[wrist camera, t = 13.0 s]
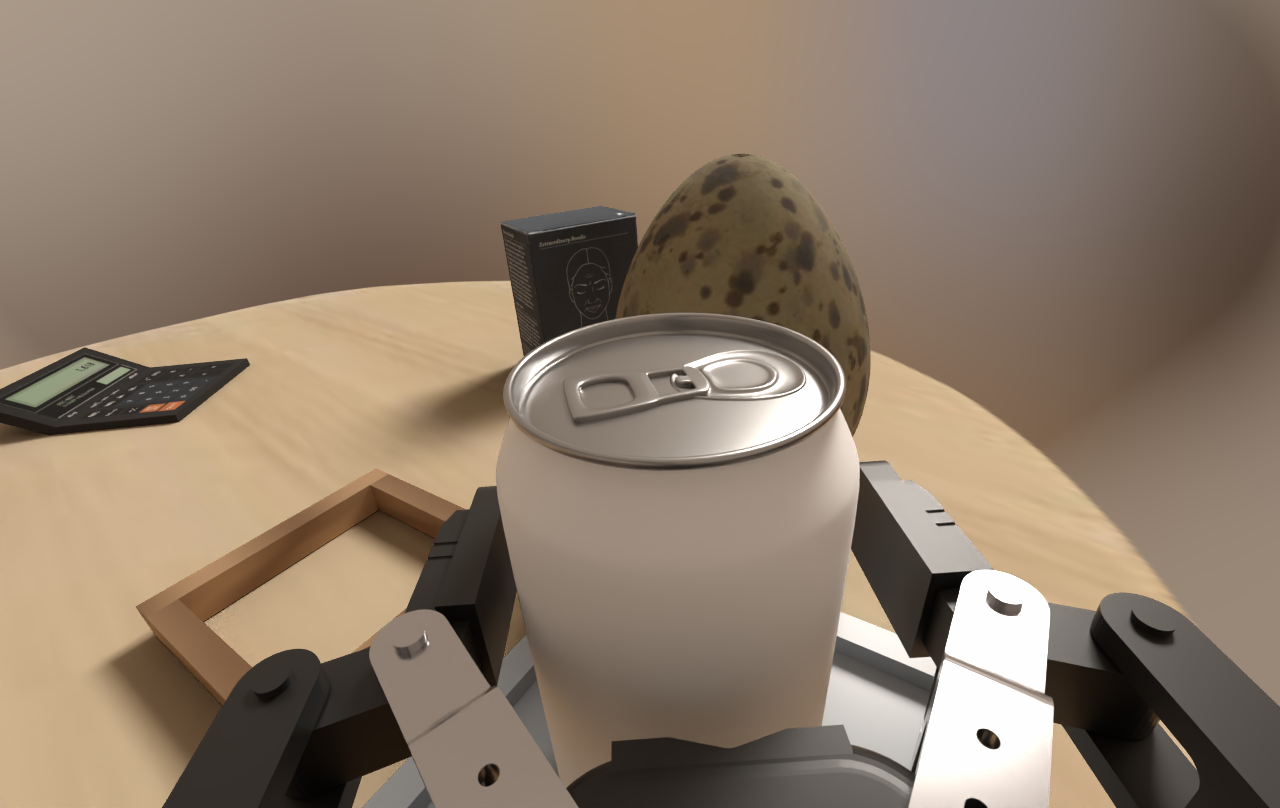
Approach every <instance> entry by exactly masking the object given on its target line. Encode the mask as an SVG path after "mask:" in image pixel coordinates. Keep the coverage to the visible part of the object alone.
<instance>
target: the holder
mask: <svg viewBox="0 0 1280 808" xmlns="http://www.w3.org/2000/svg"><path fill="white" fill-rule="evenodd" d="M377 510H381V511H383V512H384V513H386V514H388V515H390V516H392V517H394V518H396V519H398V520H400V521H402V522H404V523H406V524H408V525H410V526H412V527H414V528H416V529H417V530H419V531H421V532H423V533H425V534H427V535H429V536H431V537H433V538H435V539H436V537H437V534H438V532H439V530H440V527H441V525H442V524H443V523H444V522H445V521H446V520H447V519H448V518H449V517H450V516H451V515H452V514H453V513H454V512H455V511H456V510H466V509H464V508H462V507H459V506H457V505H455V504H453V503H451V502H448V501H446V500H444V499H442V498H440V497H437V496H435V495H433V494H431V493H429V492H427V491H424V490H422V489H420V488H418V487H416V486H413V485H411V484H409V483H407V482H405V481H402V480H400V479H398V478H396V477H394V476H391V475H389V474H387V473H385V472H383V471H380V470H378V469H374V470H373V471H371V472H369V473H367V474H366V475H364V476H362V477H360V478H359V479H357V480H355V481H353V482H352V483H350V484H348V485H347V486H345V487H343V488H341V489H340V490H338V491H336V492H334V493H333V494H331V495H329V496H327V497H326V498H324V499H322V500H320V501H319V502H317V503H315V504H313V505H312V506H310V507H308V508H307V509H305V510H303V511H301V512H300V513H298V514H296V515H294V516H293V517H291V518H289V519H287V520H286V521H284V522H282V523H280V524H279V525H277V526H275V527H273V528H272V529H270V530H268V531H266V532H265V533H263V534H261V535H260V536H258V537H256V538H254V539H253V540H251V541H249V542H247V543H246V544H244V545H242V546H240V547H239V548H237V549H235V550H233V551H232V552H230V553H228V554H226V555H225V556H223V557H221V558H220V559H218V560H216V561H214V562H213V563H211V564H209V565H207V566H206V567H204V568H202V569H200V570H199V571H197V572H195V573H193V574H192V575H190V576H188V577H186V578H185V579H183V580H181V581H179V582H178V583H176V584H174V585H173V586H171V587H169V588H167V589H166V590H164V591H162V592H160V593H159V594H157V595H155V596H153V597H152V598H150V599H148V600H146V601H145V602H143V603H141V604H139V605H138V606H136V608H137V609H138V611H139V612H140V614H141V615H142V617H143V618H144V620H145V621H146V622H147V624H148V625H149V627H150V628H151V630H152V631H153V633H154V634H155V635H156V636H157V637H158V638H159V639H160V640H161V642H162V643H163V644H164V645H165V646H166V647H167V648H168V649H169V650H170V651H171V652H172V653H173V654H174V655H175V656H176V657H177V658H178V659H179V661H180V662H181V663H182V664H183V665H184V666H185V667H186V668H187V669H188V670H189V671H190V672H191V673H192V674H193V675H194V676H195V677H196V678H197V679H198V681H199V682H200V683H201V684H202V685H203V686H204V687H205V688H206V689H207V690H208V691H209V692H210V693H211V694H212V695H213V696H214V697H215V698H216V700H217V701H218V702H219V703H220V704H221V705H222V706H223V705H224V703H225V701H226V699H227V698H228V696H229V694H230V693H231V691H232V689H233V688H234V686H235V685H236V684H237V682H238V681H239V680H240V679H241V678H242V676H243V675H245V674H246V673H247V672H248V671H249V670H250V669H251V668H252V667H251V666H250V665H249V664H248V663H247V662H246V661H245V660H244V659H243V658H241V657H240V656H239V655H238V654H237V653H236V652H235V651H234V650H233V649H232V648H231V647H230V646H229V645H227V644H226V643H225V642H224V641H223V640H222V639H221V638H220V637H219V636H218V635H217V634H216V633H214V632H213V631H212V630H211V629H210V628H209V627H208V626H207V625H206V624H205V623H204V621H205V620H207V619H208V618H210V617H211V616H213V615H215V614H216V613H218V612H219V611H221V610H222V609H224V608H226V607H227V606H229V605H230V604H232V603H233V602H235V601H236V600H238V599H240V598H241V597H243V596H244V595H246V594H247V593H249V592H251V591H252V590H254V589H255V588H257V587H258V586H260V585H262V584H263V583H265V582H266V581H268V580H269V579H271V578H273V577H274V576H276V575H277V574H279V573H280V572H282V571H283V570H285V569H287V568H288V567H290V566H291V565H293V564H294V563H296V562H298V561H299V560H301V559H302V558H304V557H305V556H307V555H309V554H310V553H312V552H313V551H315V550H316V549H318V548H320V547H321V546H323V545H324V544H326V543H327V542H329V541H330V540H332V539H334V538H335V537H337V536H338V535H340V534H341V533H343V532H345V531H346V530H348V529H349V528H351V527H352V526H354V525H356V524H357V523H359V522H360V521H362V520H363V519H365V518H367V517H368V516H370V515H371V514H373V513H374V512H376V511H377ZM406 609H407V608H406ZM406 609H405V610H404V611H403V612H401V613H400V614H399V615H398V616H396V617H395V618H397V617H399V616H401V615H403V614H404V613H405V611H406ZM395 618H394V619H395ZM379 631H380V630H379ZM379 631H378V632H377V633H376V634H374V635H373V636H372V637H371V638H370V639H368V640H367V641H366V642H365V643H363V644H362V645H361V646H360V647H359V648H357V649H356V650H355V651H354V652H357V651H360V650H363V649H365V648H367V647H369V646H371V644H372V642H373V640H374V638H375V637H376V635H377V634H378V633H379ZM354 652H353V653H354Z"/></svg>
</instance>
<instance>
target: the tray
mask: <svg viewBox="0 0 1280 808" xmlns="http://www.w3.org/2000/svg"><path fill="white" fill-rule="evenodd" d="M935 670H936V665H935V663H934V662H933V660H932V658H931V657H921V658H909V656H908V654H907V652H906V651H905V649H904V647H903V645H902V643H901V641H900V639H899V637H898V636H897V634H895V633H893V632H890V631H888V630H885V629H882V628H880V627H877V626H875V625H872V624H870V623H867V622H865V621H862V620H860V619H857V618H855V617H852V616H850V615H847V614H845V613H842V612H841V613H840V619H839V625H838V631H837V637H836V643H835V649H834V655H833V661H832V667H831V673H830V679H829V685H828V691H827V697H826V703H825V709H824V715H823V721H822V726H829V725H844V728H845V730H846V733H847V736H848V739H849V741H850V744H851V745H856V746H860V747H863V748H866V749H869V750H872V751H875V752H877V753H880V754H882V755H884V756H886V757H889V758H890V759H892V760H894V761H896V762H898V763H899V764H901V765H903V766H904V767H906V768H907V769H909V768H910V765H911V761H912V757H913V754H914V750H915V746H916V742H917V739H918V735H919V731H920V727H921V723H922V719H923V715H924V711H925V707H926V704H927V700H928V696H929V692H930V688H931V684H932V680H933V676H934V673H935ZM497 686H498V687H499V689H500V690H501V691H502V692H503V694H504V695H505V697H506V698H507V700H508V701H509V703H510V704H511V706H512V707H513V709H514V710H515V712H516V714H517V715H518V717H519V718H520V720H521V721H522V723H523V724H524V726H525V727H526V729H527V730H528V732H529V733H530V735H531V736H532V738H533V739H534V741H535V742H536V744H537V745H538V747H539V748H540V750H541V751H542V753H543V754H544V756H545V757H546V759H547V760H548V762H549V763H550V765H551V767H552V768H553V770H554V771H555V773H556V774H557V776H558V777H559V773H558V769H557V764H556V760H555V756H554V752H553V747H552V743H551V739H550V734H549V730H548V726H547V721H546V717H545V712H544V708H543V704H542V699H541V695H540V691H539V686H538V682H537V677H536V673H535V668H534V664H533V660H532V655H531V651H530V646H529V642H528V637H527V634H526V635H525V636H524V637H523V638H522V639H521V640H520V641H519V642H518V643H517V645H516V646H515V647H514V648H513V649H512V650H511V651H510V652H509V653H508V654H507V655H506V656H505V657H504V658H503V660H502V665H501V670H500V675H499V680H498V684H497ZM559 779H560V777H559ZM362 808H434V805H433V803H432V801H431V799H430V796H429V794H428V792H427V790H426V787H425V785H424V783H423V781H422V778H421V776H420V774H419V772H418V769H417V767H416V765H415V763H414V760H413V758H412V756H411V757H409V759H408V760H407V761H406V762H405V763H404V764H403V765H402V766H401V767H400V768H399V769H398V770H397V771H396V772H395V773H394V774H393V775H392V776H391V778H390V779H389V780H388V781H387V782H386V783H385V784H384V785H383V786H382V787H381V788H380V789H379V790H378V791H377V792H376V793H375V794H374V795H373V797H372V798H371V799H370V800H369V801H368V802H367V803H366V804H365V805H364V806H363V807H362Z"/></svg>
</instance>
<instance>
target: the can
mask: <svg viewBox="0 0 1280 808" xmlns="http://www.w3.org/2000/svg"><path fill="white" fill-rule="evenodd" d="M845 394H846V378H845V374H844V371H843V369H842V367H841V365H840V364H839V362H838V361H837V359H836V358H835V357H834V356H833V355H832V354H831V353H830V352H829V351H828V350H827V349H825V348H824V347H823V346H821V345H820V344H819V343H817V342H815V341H814V340H812V339H810V338H808V337H806V336H804V335H802V334H800V333H798V332H795V331H793V330H790V329H788V328H785V327H782V326H779V325H775V324H772V323H768V322H764V321H760V320H755V319H750V318H744V317H738V316H731V315H722V314H709V313H662V314H649V315H640V316H632V317H625V318H619V319H614V320H609V321H604V322H600V323H596V324H592V325H589V326H585V327H582V328H579V329H576V330H573V331H570V332H567V333H565V334H562V335H560V336H558V337H555V338H553V339H551V340H549V341H547V342H545V343H544V344H542V345H540V346H538V347H537V348H535V349H534V350H532V351H531V352H529V353H528V354H527V355H526V356H524V357H523V358H522V359H521V360H520V361H519V362H518V363H517V364H516V365H515V366H514V368H513V369H512V370H511V372H510V373H509V375H508V377H507V379H506V382H505V385H504V390H503V399H504V405H505V408H506V411H507V413H508V415H509V417H510V421H509V424H508V427H507V430H506V433H505V436H504V439H503V442H502V445H501V449H500V452H499V456H498V462H497V468H496V484H497V495H498V501H499V507H500V512H501V517H502V523H503V528H504V533H505V537H506V542H507V547H508V551H509V556H510V561H511V565H512V570H513V574H514V579H515V583H516V588H517V592H518V597H519V601H520V606H521V610H522V615H523V620H524V624H525V628H526V633H527V637H528V642H529V646H530V651H531V655H532V660H533V664H534V668H535V673H536V677H537V682H538V686H539V691H540V695H541V699H542V704H543V708H544V712H545V717H546V721H547V726H548V730H549V734H550V739H551V743H552V747H553V752H554V756H555V760H556V764H557V769H558V773H559V777H560V780H561V782H562V783H563V785H564V786H565V788H566V787H568V786H569V785H570V784H571V783H572V782H573V781H574V780H576V779H577V778H579V777H580V776H582V775H583V774H585V773H586V772H588V771H589V770H591V769H593V768H595V767H597V766H599V765H601V764H604V763H606V762H609V761H611V751H612V741H621V740H635V739H649V738H663V737H671V738H676V739H681V740H686V741H692V742H697V743H702V744H707V745H712V746H717V747H723V748H734V747H737V746H740V745H743V744H746V743H748V742H751V741H754V740H757V739H759V738H762V737H765V736H768V735H770V734H773V733H776V732H779V731H781V730H784V729H787V728H801V727H815V726H822V721H823V715H824V709H825V703H826V697H827V691H828V685H829V679H830V673H831V667H832V661H833V655H834V649H835V643H836V637H837V631H838V625H839V619H840V613H841V607H842V600H843V594H844V588H845V582H846V576H847V569H848V563H849V557H850V550H851V544H852V537H853V531H854V524H855V518H856V510H857V502H858V494H859V478H860V466H859V459H858V454H857V450H856V447H855V443H854V441H853V438H852V435H851V432H850V430H849V428H848V425H847V423H846V421H845V418H844V416H843V414H842V411H841V409H840V407H841V405H842V403H843V401H844V398H845Z"/></svg>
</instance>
